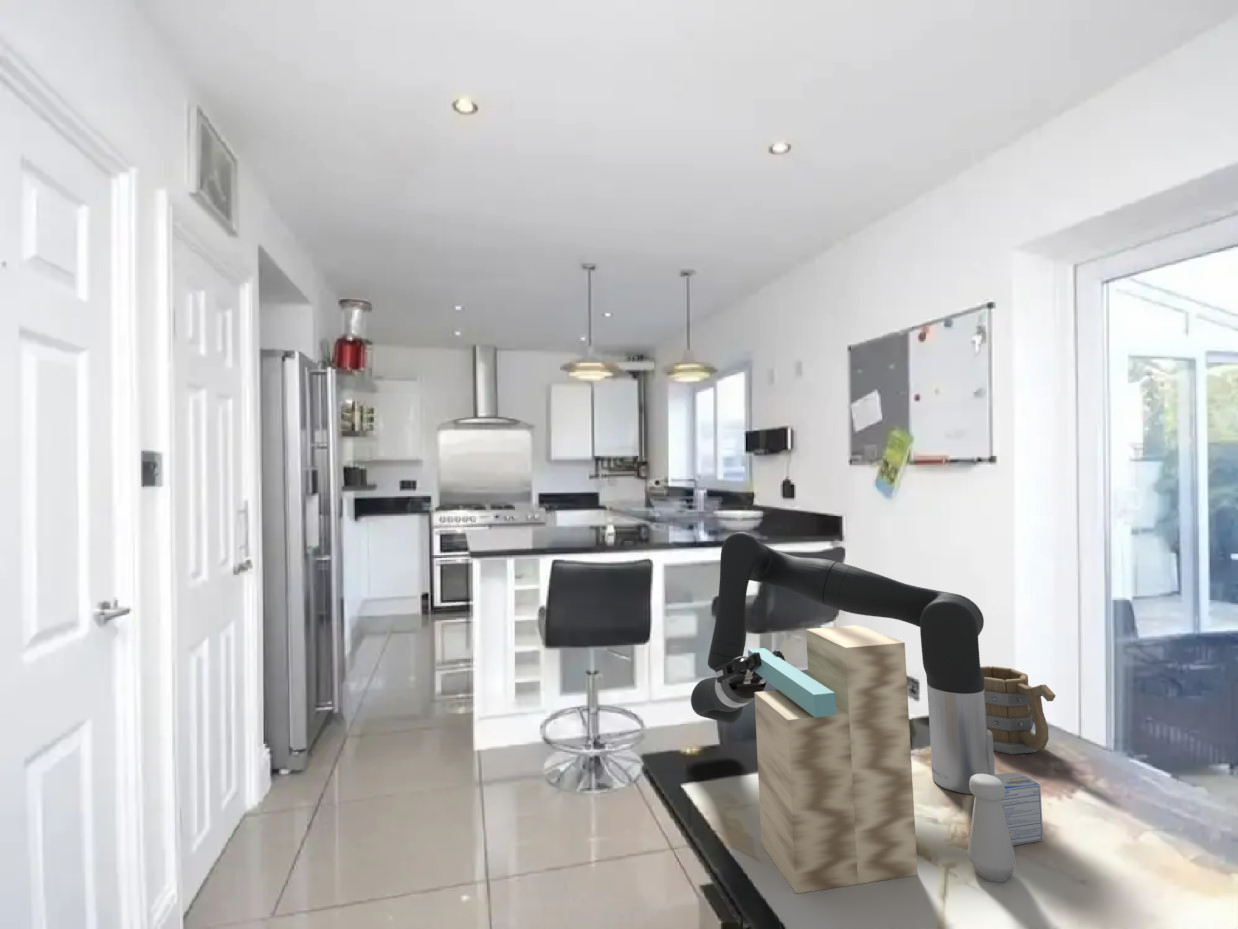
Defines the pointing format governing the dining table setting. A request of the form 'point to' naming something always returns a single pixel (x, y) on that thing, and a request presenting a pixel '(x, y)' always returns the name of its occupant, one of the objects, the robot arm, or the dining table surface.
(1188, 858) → the dining table surface
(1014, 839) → the medicine box
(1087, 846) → the dining table surface
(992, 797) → the salt shaker
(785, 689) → the teal bar
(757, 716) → the block
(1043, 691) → the tankard
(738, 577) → the robot arm
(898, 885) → the dining table surface
